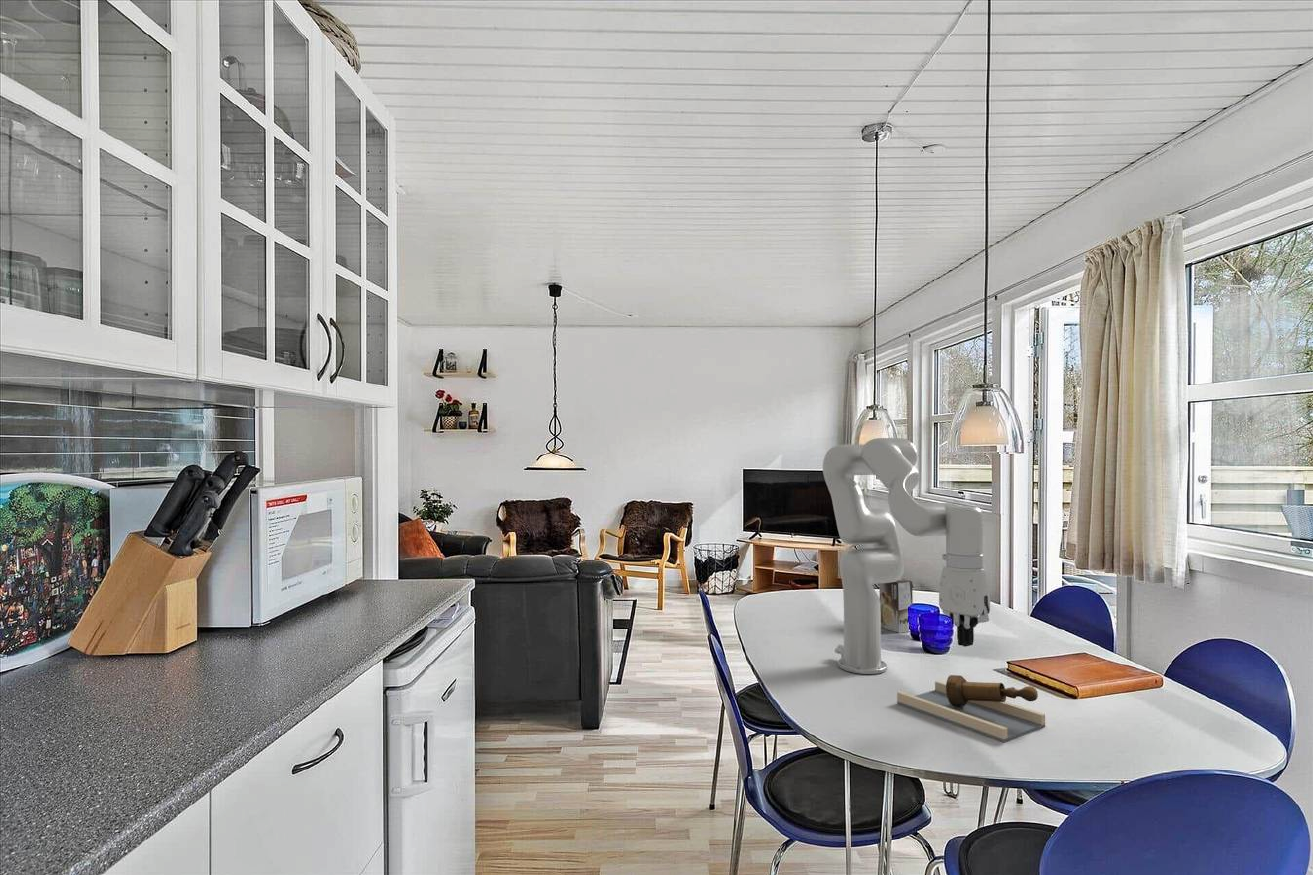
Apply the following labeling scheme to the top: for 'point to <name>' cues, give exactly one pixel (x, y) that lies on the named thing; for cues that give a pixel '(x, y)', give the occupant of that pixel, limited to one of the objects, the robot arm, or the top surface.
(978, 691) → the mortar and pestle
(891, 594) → the coffee box
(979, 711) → the grey tray beige rails
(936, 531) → the robot arm
